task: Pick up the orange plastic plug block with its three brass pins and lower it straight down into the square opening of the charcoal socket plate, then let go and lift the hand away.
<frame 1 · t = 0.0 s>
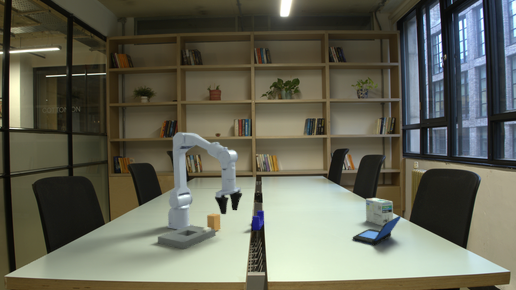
hand: (229, 211, 120), 10 cm above the table, tool pointing down, fingers open, 7 cm apart
socket plate: (187, 239, 118), on the table
cable clip: (257, 226, 135), on the table
handheld game console: (376, 240, 114), on the table
plug: (213, 230, 129), on the table
light bulb box: (379, 223, 137), on the table
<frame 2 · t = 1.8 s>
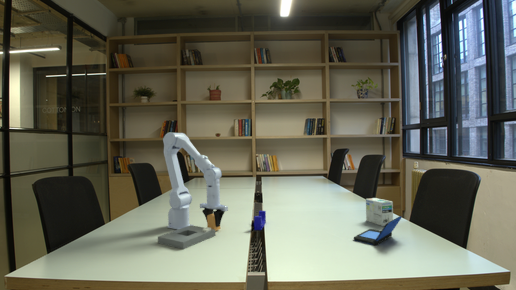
hand: (213, 225, 129), 2 cm above the table, tool pointing down, fingers closed on plug, 4 cm apart
plug: (213, 230, 129), on the table, touching gripper
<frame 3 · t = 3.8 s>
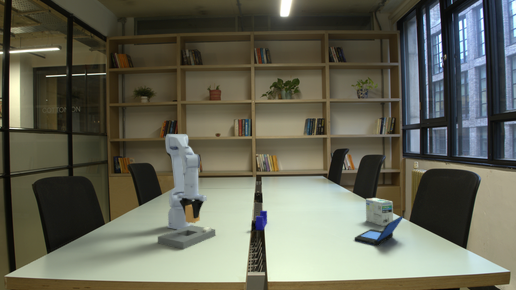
hand: (191, 217, 120), 8 cm above the table, tool pointing down, fingers closed on plug, 4 cm apart
plug: (192, 222, 120), point 6 cm above the table, touching gripper
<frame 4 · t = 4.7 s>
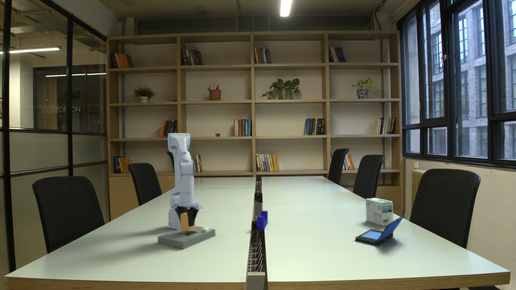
hand: (187, 225, 118), 6 cm above the table, tool pointing down, fingers closed on plug, 4 cm apart
plug: (188, 230, 118), point 3 cm above the table, touching gripper
when the fingers open (4 cm above the table, at t = 5.6 s): plug drops 1 cm, resting in socket plate.
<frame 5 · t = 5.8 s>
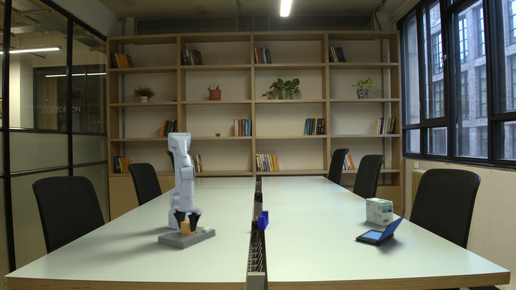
hand: (187, 230, 118), 4 cm above the table, tool pointing down, fingers open, 6 cm apart
plug: (188, 238, 118), resting in socket plate
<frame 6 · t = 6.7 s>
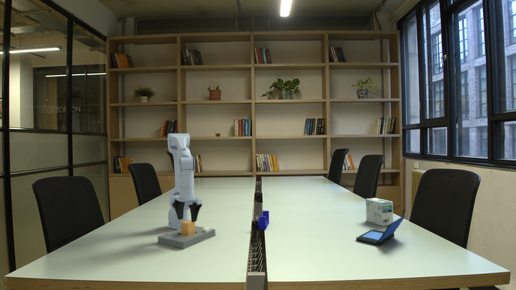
hand: (187, 220, 118), 8 cm above the table, tool pointing down, fingers open, 7 cm apart
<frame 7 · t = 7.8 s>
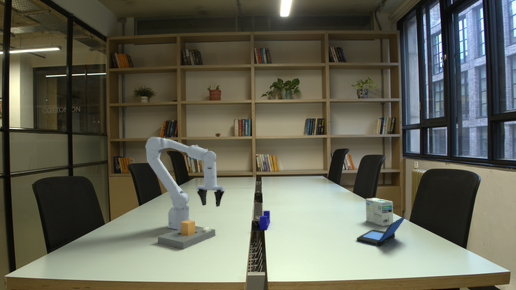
hand: (211, 205, 136), 9 cm above the table, tool pointing down, fingers open, 7 cm apart
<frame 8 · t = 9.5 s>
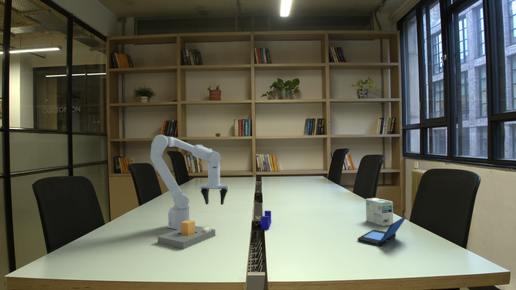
hand: (214, 204, 140), 9 cm above the table, tool pointing down, fingers open, 7 cm apart
at the end: plug 0.3 cm off-centre on the socket plate, point 0.0 cm above the socket plate's base; plug tilted 0°; the gripper is holding nothing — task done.
